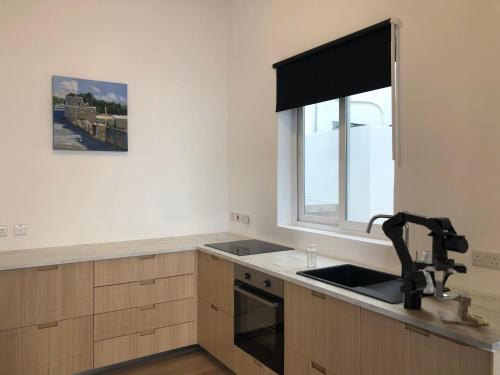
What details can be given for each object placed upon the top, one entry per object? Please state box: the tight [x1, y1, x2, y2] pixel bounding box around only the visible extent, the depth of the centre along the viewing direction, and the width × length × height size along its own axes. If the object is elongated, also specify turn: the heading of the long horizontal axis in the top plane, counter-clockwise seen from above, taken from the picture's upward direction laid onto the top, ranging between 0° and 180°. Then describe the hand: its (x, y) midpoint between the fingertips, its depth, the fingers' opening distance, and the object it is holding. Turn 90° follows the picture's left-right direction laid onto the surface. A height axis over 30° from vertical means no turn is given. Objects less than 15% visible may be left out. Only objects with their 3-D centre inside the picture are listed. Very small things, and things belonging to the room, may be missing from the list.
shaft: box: [433, 278, 461, 302], centre depth 161 cm, size 10×3×8 cm, turn 72°
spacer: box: [468, 311, 489, 325], centre depth 159 cm, size 1×6×6 cm
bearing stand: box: [437, 290, 481, 327], centre depth 160 cm, size 13×12×10 cm
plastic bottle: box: [419, 250, 435, 295], centre depth 194 cm, size 6×7×20 cm
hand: (438, 288), depth 162 cm, fingers closed on shaft, 2 cm apart
